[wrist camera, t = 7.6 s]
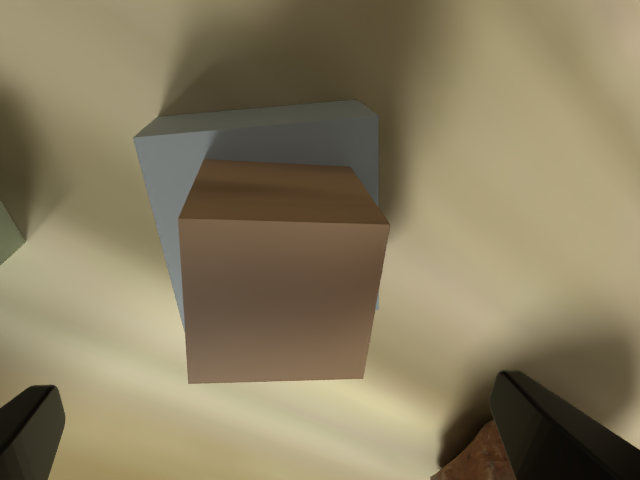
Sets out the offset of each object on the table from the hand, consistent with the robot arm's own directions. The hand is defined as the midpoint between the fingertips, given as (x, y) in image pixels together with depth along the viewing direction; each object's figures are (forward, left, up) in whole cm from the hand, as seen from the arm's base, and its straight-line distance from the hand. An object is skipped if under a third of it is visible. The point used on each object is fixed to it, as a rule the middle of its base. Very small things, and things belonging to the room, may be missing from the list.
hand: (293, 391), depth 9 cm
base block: (0, 0, -12) cm, 12 cm away
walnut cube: (0, 0, -8) cm, 8 cm away
